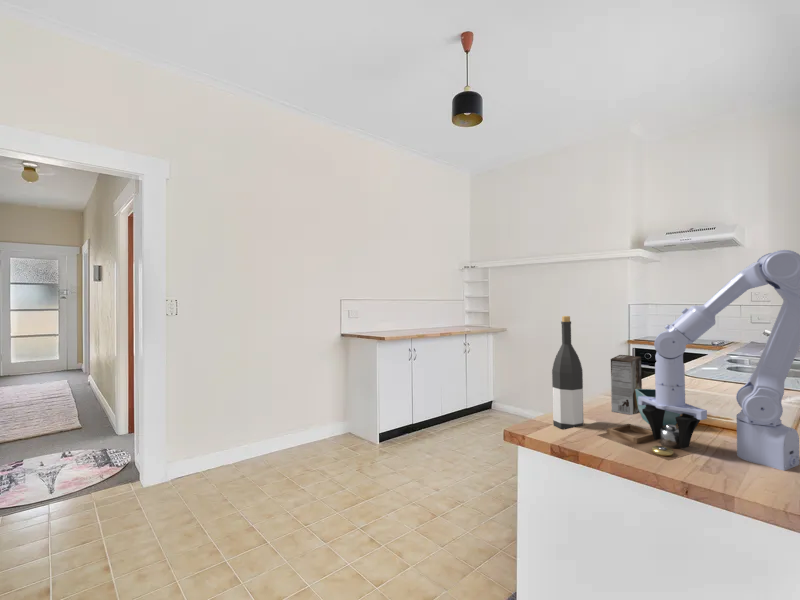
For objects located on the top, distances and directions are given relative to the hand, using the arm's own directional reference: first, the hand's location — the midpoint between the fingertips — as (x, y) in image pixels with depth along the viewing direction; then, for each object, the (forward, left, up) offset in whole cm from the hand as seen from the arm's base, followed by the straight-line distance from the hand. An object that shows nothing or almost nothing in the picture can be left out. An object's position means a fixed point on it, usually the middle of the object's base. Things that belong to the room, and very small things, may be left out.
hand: (670, 442), depth 97 cm
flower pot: (+12, -14, -2) cm, 18 cm away
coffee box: (+26, -20, -2) cm, 33 cm away
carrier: (+4, +2, -2) cm, 5 cm away
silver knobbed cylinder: (0, 0, -1) cm, 1 cm away
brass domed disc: (-2, +6, -1) cm, 6 cm away
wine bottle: (+24, +6, -2) cm, 25 cm away
